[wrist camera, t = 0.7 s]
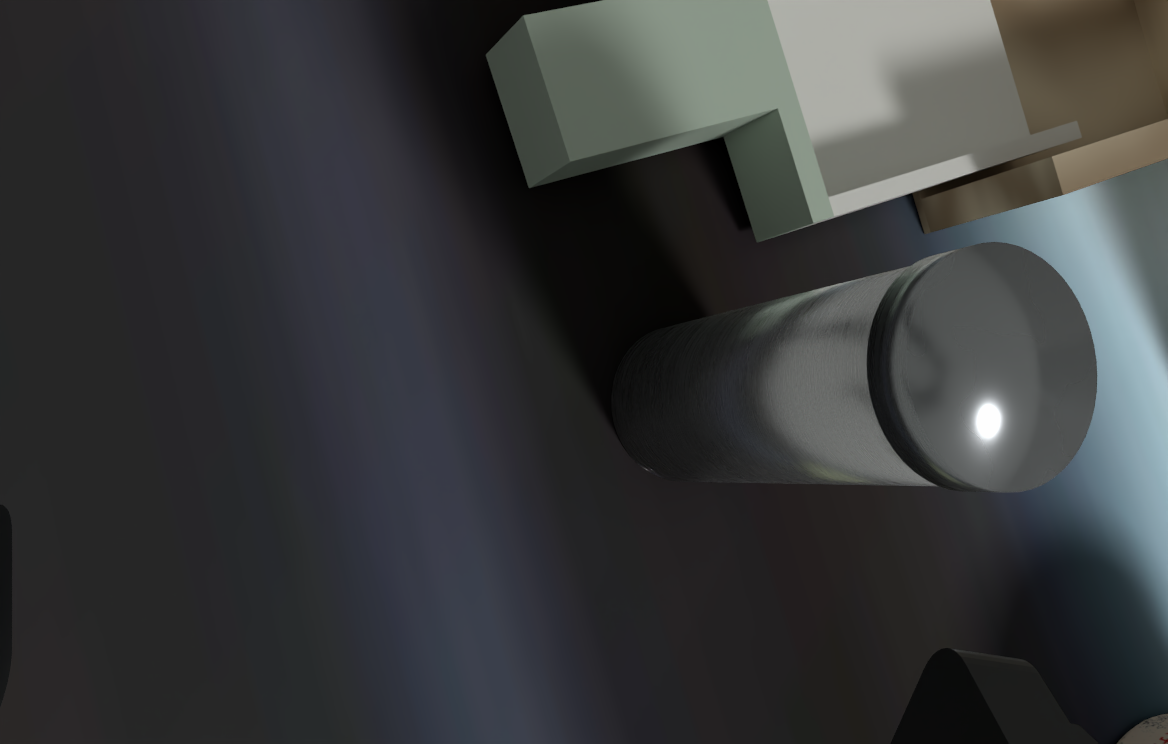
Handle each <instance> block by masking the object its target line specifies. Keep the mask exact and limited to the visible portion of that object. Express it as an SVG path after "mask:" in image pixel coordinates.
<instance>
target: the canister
mask: <svg viewBox="0 0 1168 744" xmlns="http://www.w3.org/2000/svg"><path fill="white" fill-rule="evenodd" d="M1096 392H1097V365H1096V356H1095V349H1094V344H1093V339H1092V335H1091V331H1090V328H1089V325H1088V323H1087V320H1086V317H1085V314H1084V312H1083V310H1082V308H1081V306H1080V304H1079V302H1078V300H1077V298H1076V297H1075V295H1074V293H1073V291H1072V290H1071V288H1070V287H1069V286H1068V284H1067V283H1066V282H1065V280H1064V279H1063V278H1062V277H1061V275H1060V274H1059V273H1058V272H1057V271H1056V270H1055V269H1054V268H1053V267H1052V266H1051V265H1049V264H1048V263H1047V262H1046V261H1044V260H1043V259H1042V258H1040V257H1039V256H1037V255H1036V254H1034V253H1032V252H1031V251H1028V250H1026V249H1024V248H1022V247H1019V246H1016V245H1012V244H1008V243H999V242H989V243H981V244H977V245H973V246H969V247H965V248H961V249H957V250H953V251H949V252H945V253H941V254H938V255H934V256H930V257H927V258H925V259H923V260H920V261H918V262H916V263H915V264H913V265H912V266H909V267H905V268H901V269H897V270H893V271H889V272H885V273H881V274H877V275H873V276H869V277H865V278H861V279H857V280H853V281H849V282H845V283H841V284H837V285H833V286H829V287H825V288H821V289H817V290H813V291H809V292H805V293H801V294H797V295H793V296H789V297H785V298H781V299H777V300H773V301H769V302H765V303H761V304H756V305H752V306H748V307H744V308H740V309H736V310H732V311H728V312H724V313H720V314H716V315H712V316H708V317H704V318H700V319H696V320H692V321H688V322H684V323H680V324H676V325H672V326H668V327H664V328H660V329H657V330H655V331H652V332H650V333H648V334H646V335H645V336H643V337H642V338H640V339H639V340H638V341H637V342H636V343H634V344H633V345H632V347H631V348H630V349H629V350H628V351H627V353H626V354H625V355H624V357H623V358H622V360H621V362H620V364H619V366H618V368H617V371H616V374H615V377H614V381H613V385H612V393H611V410H612V417H613V422H614V426H615V429H616V432H617V434H618V437H619V439H620V441H621V443H622V445H623V446H624V448H625V449H626V451H627V452H628V454H629V455H630V456H631V457H632V458H633V460H634V461H635V462H636V463H637V464H639V465H640V466H641V467H642V468H643V469H645V470H646V471H648V472H650V473H651V474H653V475H655V476H658V477H660V478H663V479H667V480H671V481H681V482H737V483H793V484H849V485H905V486H940V487H943V488H946V489H949V490H956V491H968V492H1021V491H1026V490H1031V489H1033V488H1036V487H1038V486H1041V485H1043V484H1045V483H1046V482H1048V481H1049V480H1051V479H1053V478H1054V477H1055V476H1056V475H1058V474H1059V473H1060V472H1061V471H1062V470H1063V469H1064V468H1065V467H1066V466H1067V465H1068V464H1069V463H1070V461H1071V460H1072V459H1073V457H1074V456H1075V454H1076V453H1077V451H1078V450H1079V448H1080V446H1081V444H1082V442H1083V440H1084V438H1085V436H1086V434H1087V431H1088V428H1089V426H1090V423H1091V419H1092V415H1093V411H1094V407H1095V400H1096Z"/></svg>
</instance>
